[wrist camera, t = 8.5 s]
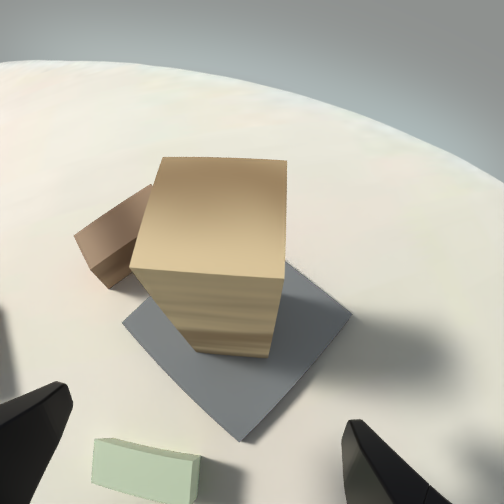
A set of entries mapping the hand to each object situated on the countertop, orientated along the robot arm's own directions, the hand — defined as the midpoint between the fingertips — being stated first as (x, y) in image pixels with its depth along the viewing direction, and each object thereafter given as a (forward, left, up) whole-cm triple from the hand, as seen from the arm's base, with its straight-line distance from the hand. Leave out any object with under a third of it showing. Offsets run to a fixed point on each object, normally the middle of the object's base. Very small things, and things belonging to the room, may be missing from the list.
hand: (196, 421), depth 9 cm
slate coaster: (+4, -5, -11) cm, 13 cm away
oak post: (+4, -5, -10) cm, 12 cm away
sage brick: (+1, +6, -11) cm, 13 cm away
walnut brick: (+14, -4, -11) cm, 18 cm away
